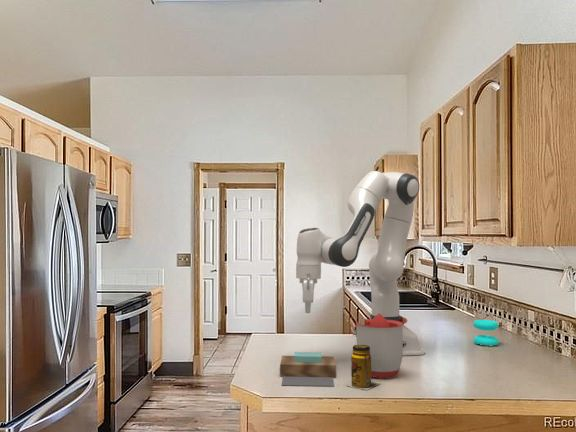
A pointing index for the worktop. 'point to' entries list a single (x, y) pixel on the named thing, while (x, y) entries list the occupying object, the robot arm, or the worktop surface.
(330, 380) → the mat
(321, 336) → the worktop surface
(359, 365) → the condiment
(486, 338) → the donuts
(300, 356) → the block
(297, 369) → the board
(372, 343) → the citrus juicer
